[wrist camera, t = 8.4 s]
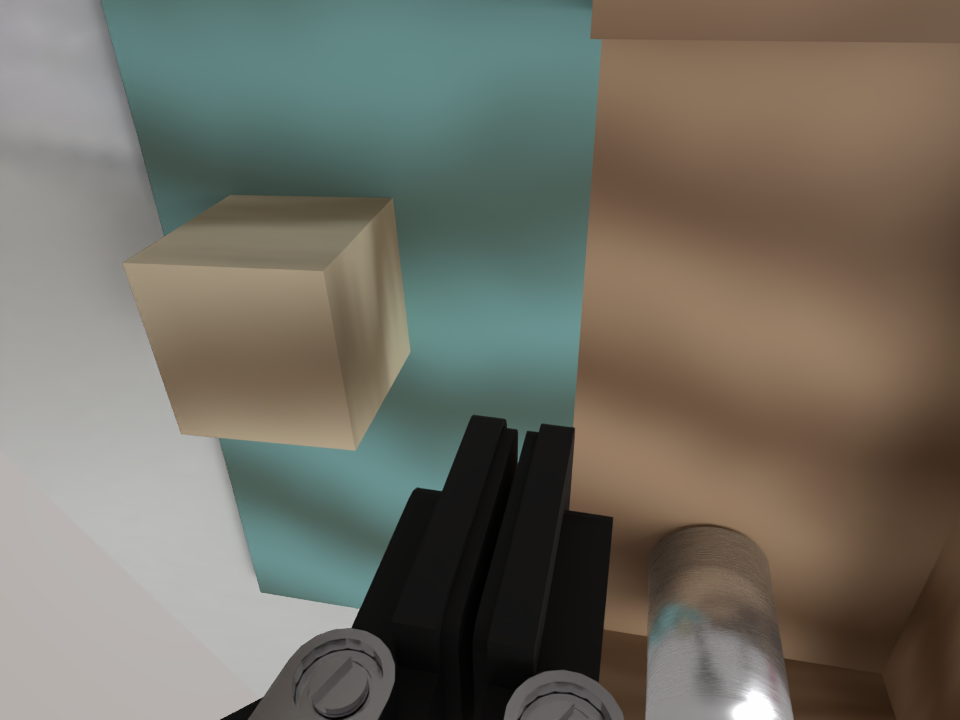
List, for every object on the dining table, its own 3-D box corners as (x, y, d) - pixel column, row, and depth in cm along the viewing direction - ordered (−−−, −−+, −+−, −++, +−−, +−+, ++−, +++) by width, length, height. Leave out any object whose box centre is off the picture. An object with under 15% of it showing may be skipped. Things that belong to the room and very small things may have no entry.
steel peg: (641, 527, 23) (637, 692, 19) (767, 526, 22) (796, 702, 17) (655, 603, 25) (653, 769, 21) (771, 606, 24) (798, 783, 19)
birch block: (230, 194, 20) (122, 262, 16) (392, 197, 19) (323, 271, 15) (265, 342, 23) (181, 434, 18) (410, 351, 22) (356, 450, 18)
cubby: (114, -45, 18) (-87, -37, 13) (1270, -58, 14) (1635, -54, 9) (271, 574, 31) (199, 698, 26) (898, 674, 26) (958, 848, 21)
